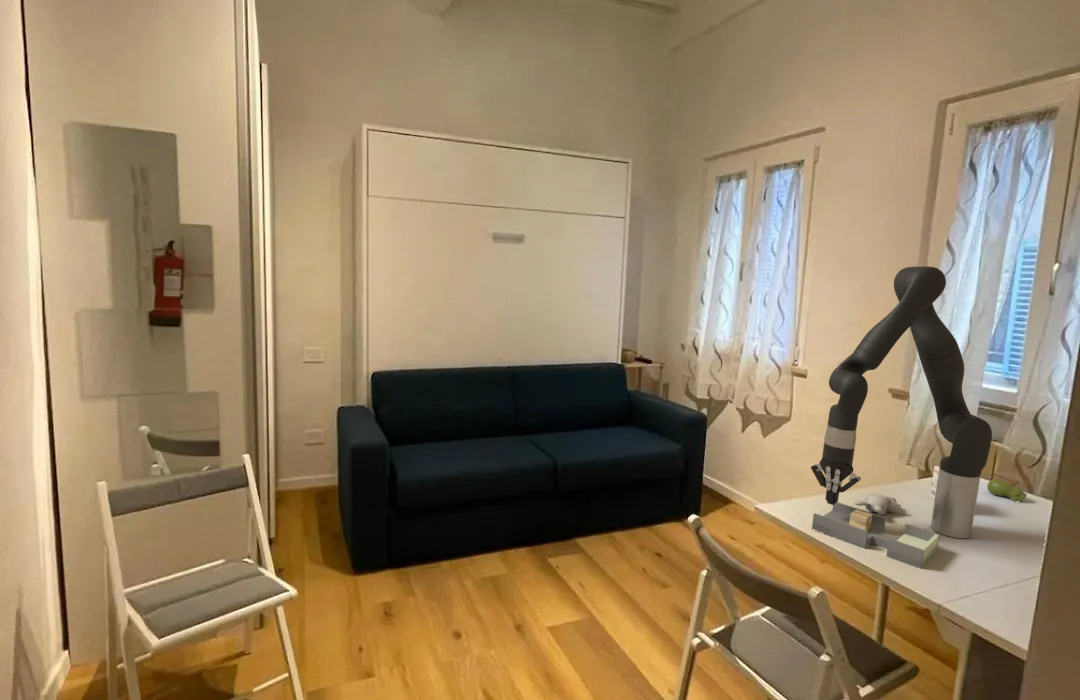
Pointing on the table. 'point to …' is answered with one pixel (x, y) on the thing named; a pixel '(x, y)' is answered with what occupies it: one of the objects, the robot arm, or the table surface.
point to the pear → (1005, 490)
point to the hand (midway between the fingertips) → (831, 503)
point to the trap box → (879, 535)
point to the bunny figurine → (879, 504)
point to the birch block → (860, 520)
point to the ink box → (934, 484)
